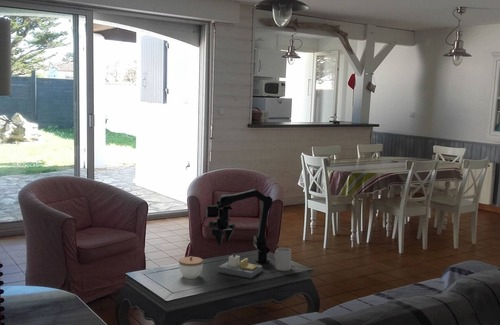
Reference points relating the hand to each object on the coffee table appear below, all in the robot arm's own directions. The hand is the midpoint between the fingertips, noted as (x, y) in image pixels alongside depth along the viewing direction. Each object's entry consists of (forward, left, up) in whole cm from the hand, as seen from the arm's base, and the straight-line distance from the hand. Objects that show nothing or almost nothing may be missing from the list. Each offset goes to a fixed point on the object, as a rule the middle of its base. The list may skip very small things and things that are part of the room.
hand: (223, 243), depth 298 cm
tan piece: (+7, +20, -9) cm, 23 cm away
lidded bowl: (+28, -4, -12) cm, 31 cm away
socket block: (+7, +15, -12) cm, 20 cm away
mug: (-11, +32, -12) cm, 36 cm away
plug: (+7, +11, -12) cm, 18 cm away
